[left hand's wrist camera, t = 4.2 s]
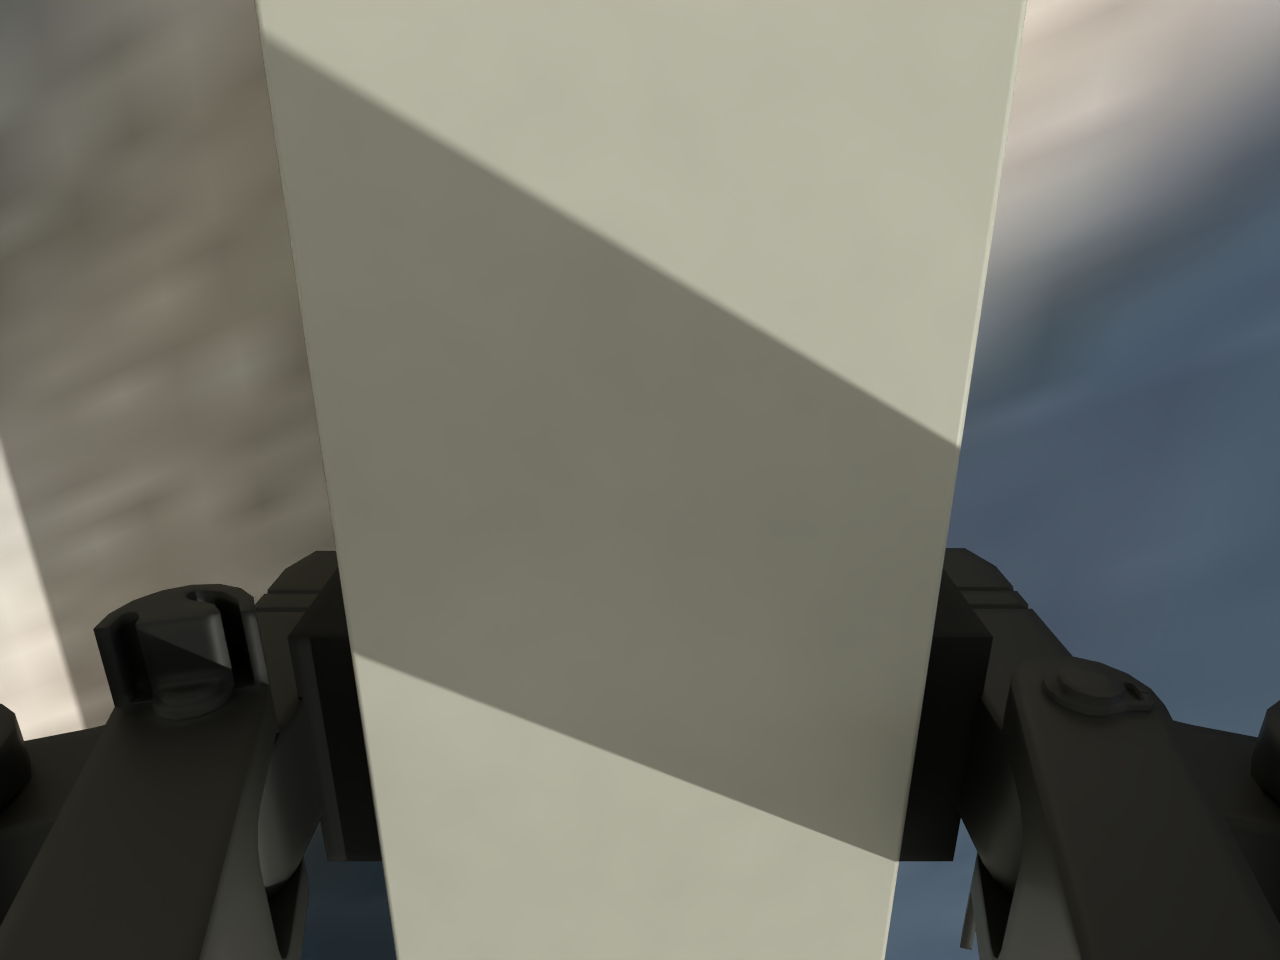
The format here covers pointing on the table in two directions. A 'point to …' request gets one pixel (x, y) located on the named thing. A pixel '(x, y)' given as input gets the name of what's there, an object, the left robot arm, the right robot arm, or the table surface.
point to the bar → (640, 443)
